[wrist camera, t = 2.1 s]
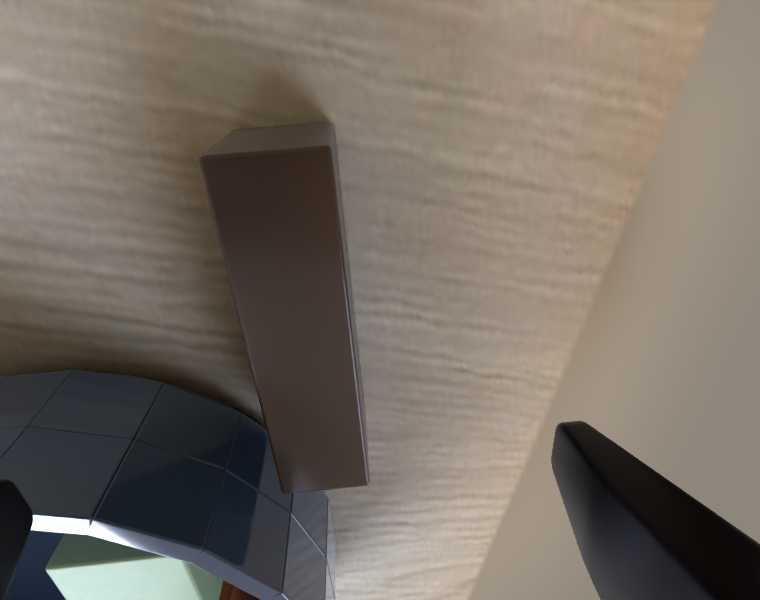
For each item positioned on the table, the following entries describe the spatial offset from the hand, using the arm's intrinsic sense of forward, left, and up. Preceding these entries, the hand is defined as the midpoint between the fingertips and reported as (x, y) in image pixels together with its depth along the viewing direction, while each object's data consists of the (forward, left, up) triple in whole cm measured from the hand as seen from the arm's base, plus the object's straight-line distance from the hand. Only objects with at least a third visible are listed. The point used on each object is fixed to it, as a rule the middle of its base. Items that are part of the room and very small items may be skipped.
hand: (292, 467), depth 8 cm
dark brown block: (0, 0, -6) cm, 6 cm away
